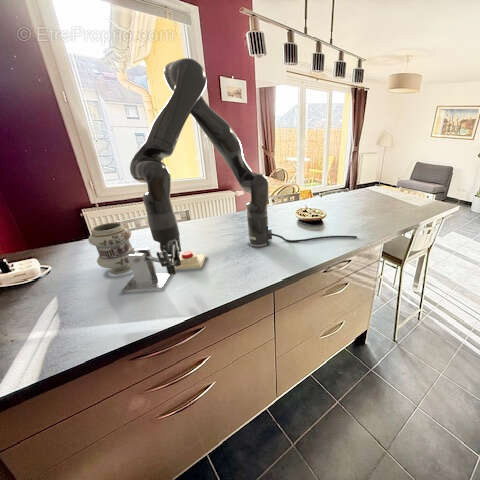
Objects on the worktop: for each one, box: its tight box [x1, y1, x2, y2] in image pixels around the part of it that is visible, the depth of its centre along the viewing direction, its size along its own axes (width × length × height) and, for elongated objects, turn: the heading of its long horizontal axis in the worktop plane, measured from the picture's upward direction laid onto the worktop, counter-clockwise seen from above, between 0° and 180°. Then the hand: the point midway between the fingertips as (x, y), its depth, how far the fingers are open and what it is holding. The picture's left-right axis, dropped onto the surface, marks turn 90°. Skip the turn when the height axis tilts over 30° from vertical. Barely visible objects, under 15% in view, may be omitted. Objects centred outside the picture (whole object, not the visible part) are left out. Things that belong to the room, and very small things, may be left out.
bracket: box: [121, 247, 171, 292], centre depth 82 cm, size 12×9×13 cm
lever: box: [135, 251, 178, 266], centre depth 82 cm, size 12×5×2 cm, turn 102°
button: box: [181, 250, 193, 259], centre depth 96 cm, size 4×4×2 cm
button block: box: [175, 251, 207, 270], centre depth 97 cm, size 11×9×4 cm
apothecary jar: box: [88, 222, 135, 274], centre depth 88 cm, size 12×12×18 cm
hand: (175, 269), depth 85 cm, fingers closed on lever, 5 cm apart
